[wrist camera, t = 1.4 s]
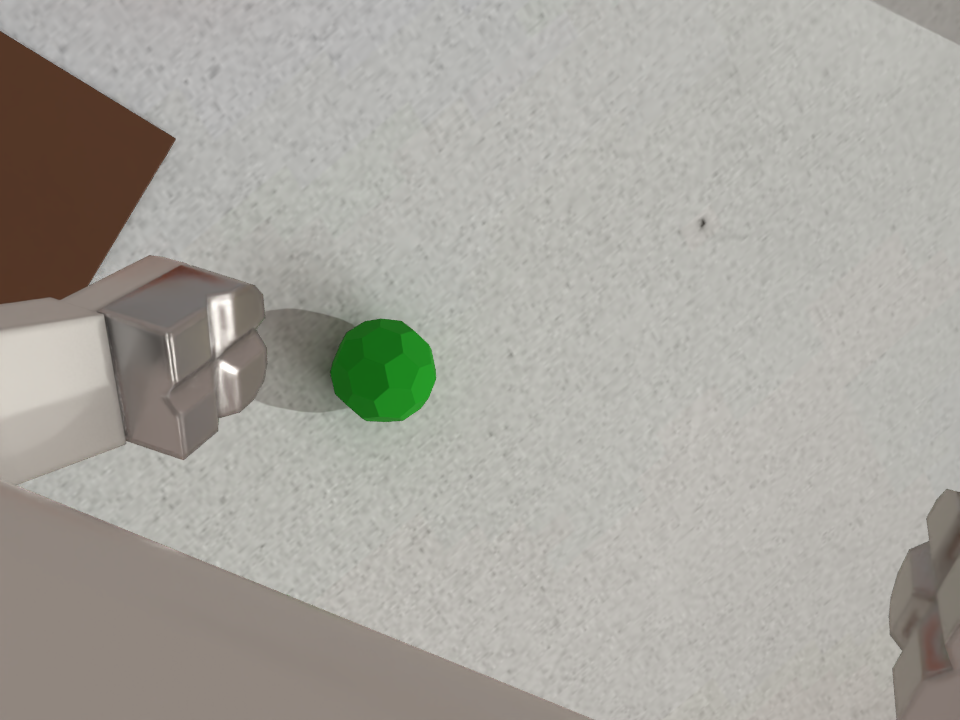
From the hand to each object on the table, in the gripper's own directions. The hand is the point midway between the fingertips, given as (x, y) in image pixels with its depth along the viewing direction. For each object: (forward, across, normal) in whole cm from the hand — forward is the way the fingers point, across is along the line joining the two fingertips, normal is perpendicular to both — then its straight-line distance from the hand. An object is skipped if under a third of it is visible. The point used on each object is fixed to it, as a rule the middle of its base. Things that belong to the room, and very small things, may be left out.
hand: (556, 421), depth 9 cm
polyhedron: (+23, +14, +17) cm, 32 cm away
